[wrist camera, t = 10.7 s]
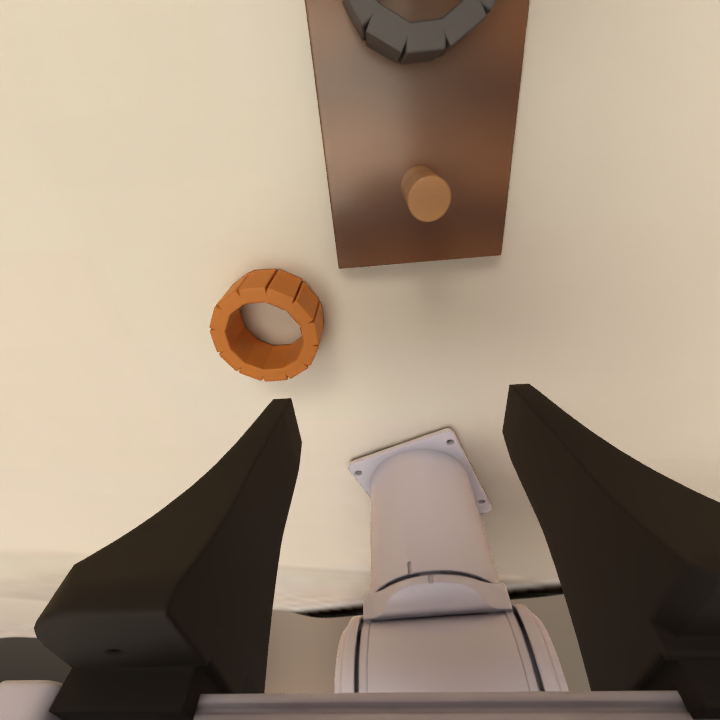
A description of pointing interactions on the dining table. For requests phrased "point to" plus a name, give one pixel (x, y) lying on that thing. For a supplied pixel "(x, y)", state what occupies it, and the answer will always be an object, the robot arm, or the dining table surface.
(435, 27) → the ring
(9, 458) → the dining table surface
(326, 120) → the rack
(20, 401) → the dining table surface
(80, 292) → the dining table surface
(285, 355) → the amber tape
